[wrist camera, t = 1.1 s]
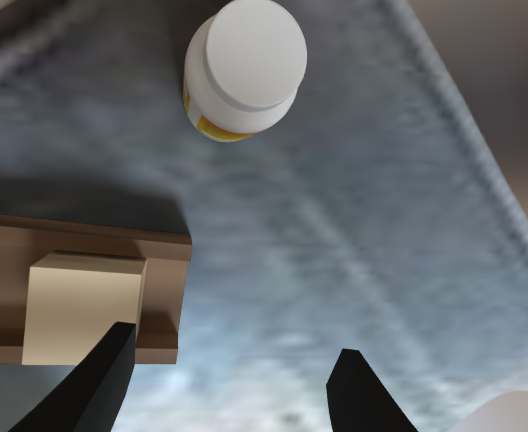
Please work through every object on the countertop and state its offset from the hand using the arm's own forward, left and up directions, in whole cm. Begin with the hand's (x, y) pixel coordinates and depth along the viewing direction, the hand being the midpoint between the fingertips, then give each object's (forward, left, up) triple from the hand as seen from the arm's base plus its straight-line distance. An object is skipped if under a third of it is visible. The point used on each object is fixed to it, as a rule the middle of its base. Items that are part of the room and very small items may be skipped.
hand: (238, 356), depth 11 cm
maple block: (-2, +6, -11) cm, 13 cm away
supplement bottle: (+11, 0, -12) cm, 16 cm away
